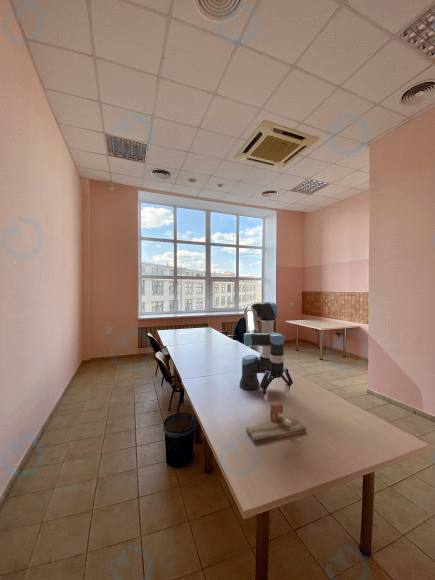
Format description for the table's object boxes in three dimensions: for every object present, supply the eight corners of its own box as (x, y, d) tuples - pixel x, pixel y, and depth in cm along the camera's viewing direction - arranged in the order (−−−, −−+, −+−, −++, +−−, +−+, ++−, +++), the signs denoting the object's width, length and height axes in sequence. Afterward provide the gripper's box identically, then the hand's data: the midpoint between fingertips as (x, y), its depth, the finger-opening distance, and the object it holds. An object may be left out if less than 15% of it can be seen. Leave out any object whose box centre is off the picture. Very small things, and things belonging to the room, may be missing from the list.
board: (246, 431, 124) (246, 427, 124) (294, 421, 132) (294, 417, 132) (254, 443, 114) (254, 439, 114) (306, 432, 123) (306, 428, 123)
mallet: (270, 420, 134) (270, 402, 134) (278, 418, 135) (278, 401, 135) (285, 436, 120) (285, 417, 119) (293, 434, 121) (293, 415, 121)
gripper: (259, 366, 124) (259, 404, 125) (299, 361, 131) (299, 397, 132) (253, 361, 131) (253, 398, 132) (291, 356, 138) (291, 391, 139)
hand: (276, 397), depth 132 cm, fingers open, 13 cm apart
